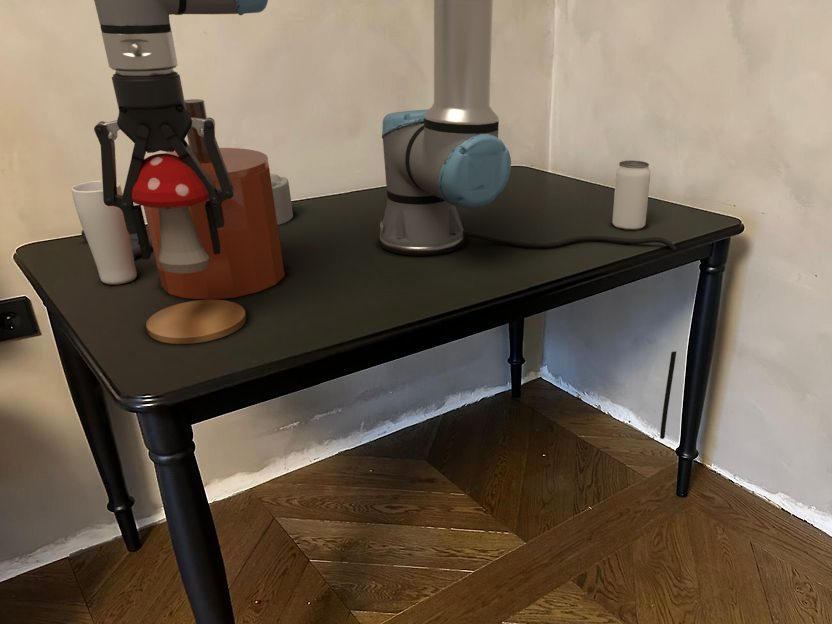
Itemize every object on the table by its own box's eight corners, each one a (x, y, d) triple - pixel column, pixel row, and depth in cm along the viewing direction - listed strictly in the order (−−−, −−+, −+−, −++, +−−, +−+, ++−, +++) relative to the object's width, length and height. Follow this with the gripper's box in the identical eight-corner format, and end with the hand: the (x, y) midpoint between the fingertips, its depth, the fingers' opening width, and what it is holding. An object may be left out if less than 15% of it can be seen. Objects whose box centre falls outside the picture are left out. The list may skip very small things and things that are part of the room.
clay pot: (282, 253, 132) (259, 89, 119) (286, 292, 117) (259, 109, 104) (168, 263, 128) (131, 93, 115) (156, 305, 112) (111, 114, 99)
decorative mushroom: (132, 274, 100) (104, 158, 92) (172, 253, 107) (148, 144, 100) (200, 281, 98) (176, 164, 91) (235, 259, 105) (216, 149, 98)
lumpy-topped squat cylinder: (218, 221, 148) (209, 177, 144) (274, 207, 157) (268, 165, 153) (248, 232, 142) (241, 186, 138) (305, 217, 151) (300, 173, 147)
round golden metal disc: (246, 301, 114) (245, 295, 113) (245, 338, 103) (244, 331, 102) (153, 310, 110) (151, 304, 110) (142, 349, 99) (140, 342, 99)
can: (630, 232, 145) (636, 169, 139) (605, 224, 149) (609, 163, 143) (652, 226, 148) (658, 164, 143) (627, 218, 153) (632, 158, 147)
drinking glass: (96, 290, 117) (70, 193, 109) (95, 276, 122) (70, 183, 115) (144, 283, 119) (122, 188, 112) (141, 269, 125) (119, 178, 117)
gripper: (39, 77, 85) (91, 269, 96) (236, 73, 90) (264, 256, 101) (54, 69, 91) (102, 250, 102) (237, 65, 96) (263, 238, 107)
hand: (182, 253), depth 101 cm, fingers closed on decorative mushroom, 8 cm apart
